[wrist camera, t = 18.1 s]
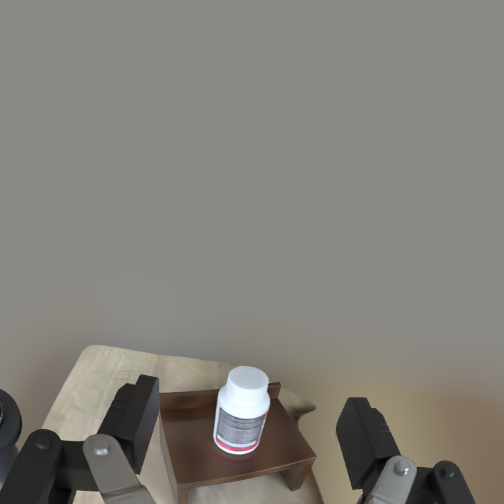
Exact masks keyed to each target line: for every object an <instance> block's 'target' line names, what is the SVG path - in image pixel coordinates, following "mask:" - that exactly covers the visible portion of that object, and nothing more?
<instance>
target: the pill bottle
mask: <svg viewBox="0 0 504 504" xmlns="http://www.w3.org/2000/svg"><path fill="white" fill-rule="evenodd" d="M267 387H268V377H267V375H266V374H265V373H264V372H263V371H261V370H260V369H257V368H255V367H250V366H240V367H236V368H234V369H232V370H231V371H230V372H229V375H228V379H227V383H226V384H225V385H224V386H223V387H222V388H221V389H220V391H219V394H218V399H217V404H216V406H217V407H216V415H215V423H214V432H213V437H214V441H215V443H216V444H217V445H218V447H220V448H221V449H222V450H224V451H226V452H228V453H231V454H246V453H249V452H251V451H253V450H254V449H255V448H256V447H257V446H258V444H259V441H260V438H261V434H262V431H263V427H264V423H265V420H266V416H267V413H268V409H269V405H270V397H269V395H268V393H267Z"/></svg>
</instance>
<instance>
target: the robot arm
mask: <svg viewBox="0 0 504 504" xmlns="http://www.w3.org/2000/svg"><path fill="white" fill-rule="evenodd" d="M158 412H159V379H158V378H157V377H152V376H147V375H143V374H141V375H140V376H139V378H138V380H137V382H136V385H133V384H129V383H126V384H125V385H124V386H123V387H121V388H120V389H119V390H118V392H117V394H116V396H115V398H114V400H113V402H112V404H111V407H110V408H109V410H108V412H107V414H106V416H105V418H104V420H103V422H102V424H101V426H100V428H99V430H98V432H97V434H95V435H92V436H90V437H88V438H87V439H86V440H85V441H64V440H61V439H60V437H59V436H58V435H57V434H56V433H55V432H53V431H51V430H47V429H40V430H36V431H34V432H33V433H31V434H30V435H29V437H28V438H27V440H26V442H25V444H24V446H23V448H22V450H21V451H20V453H19V455H18V457H17V459H16V461H15V463H14V465H13V467H12V469H11V471H10V473H9V475H8V477H7V479H6V481H5V483H4V485H3V487H2V489H1V491H0V504H73V500H74V497H75V494H76V491H77V490H81V491H99V492H100V494H101V496H102V498H103V500H104V502H105V504H156V502H155V501H154V499H153V498H152V496H151V494H150V493H149V491H148V490H147V488H146V487H145V486H144V485H142V484H141V483H140V481H139V480H138V478H137V476H136V475H135V474H138V475H140V472H141V469H142V466H143V462H144V459H145V455H146V452H147V449H148V446H149V442H150V439H151V436H152V433H153V429H154V426H155V423H156V420H157V416H158ZM3 421H4V410H3V407H2V405H1V403H0V427H1V426H2V424H3ZM336 433H337V437H338V440H339V443H340V447H341V451H342V454H343V457H344V461H345V465H346V468H347V471H348V475H349V479H350V482H351V486H352V489H353V490H355V489H362V490H363V494H362V495H361V497H360V498H359V500H358V502H357V504H436V503H437V504H476V503H475V501H474V499H473V497H472V494H471V492H470V490H469V488H468V486H467V484H466V482H465V480H464V477H463V475H462V473H461V471H460V469H459V468H458V466H456V464H454V463H453V462H450V461H440V462H438V463H437V464H436V465H435V466H434V467H433V468H425V467H416V465H415V463H414V462H413V461H412V460H411V459H409V458H407V457H404V456H401V454H400V451H399V449H398V447H397V445H396V443H395V440H394V438H393V436H392V434H391V432H390V430H389V427H388V426H387V423H386V421H385V419H384V417H383V415H382V414H381V413H380V412H379V411H378V410H377V409H376V408H371V406H370V404H369V402H368V400H367V398H365V397H354V398H353V397H350V398H348V399H347V401H346V404H345V406H344V408H343V410H342V412H341V415H340V417H339V419H338V422H337V426H336Z"/></svg>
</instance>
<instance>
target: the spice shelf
mask: <svg viewBox="0 0 504 504" xmlns="http://www.w3.org/2000/svg"><path fill="white" fill-rule="evenodd" d="M280 388H281V384H280V383H279V382H277V383H269V384H268V387H267V393H268V395H269V397H270V405H269V409H268V413H267V416H266V420H265V423H264V427H263V431H262V434H261V438H260V441H259V444H258V446H257V447H256V448H255V449H254V450H253V451H251V452H249V453H246V454H231V453H228V452H226V451H224V450H222V449H221V448H220V447H218V445H217V444H216V443H215V441H214V437H213V432H214V423H215V415H216V407H217V406H216V404H217V399H218V394H219V391H220V389H216V390H204V391H190V392H171V393H159V425H160V442H161V448H162V452H163V457H164V461H165V465H166V470H167V474H168V478H169V482H170V486H171V489H172V493H173V497H174V500H175V504H188V488H192V487H200V486H208V485H215V484H221V483H227V482H233V481H239V480H244V479H249V478H254V477H258V476H263V475H267V474H271V473H275V472H279V471H280V472H281V473H282V475H283V477H284V479H285V480H286V482H287V484H288V485H289V487H290V489H291V491H294V490H297V489H300V487H301V485H302V483H303V481H304V480H305V478H306V476H307V474H308V472H309V470H310V468H311V466H312V465H313V463H314V461H315V459H316V455H315V453H314V452H313V450H312V449H311V447H310V446H309V445H308V443H307V442H306V440H305V439H304V437H303V436H302V434H301V433H300V431H299V430H298V428H297V427H296V425H295V424H294V422H293V421H292V419H291V418H290V416H289V415H288V413H287V412H286V410H285V409H284V407H283V406H282V404H281V403H280V401H279V399H278V395H279V391H280Z"/></svg>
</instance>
